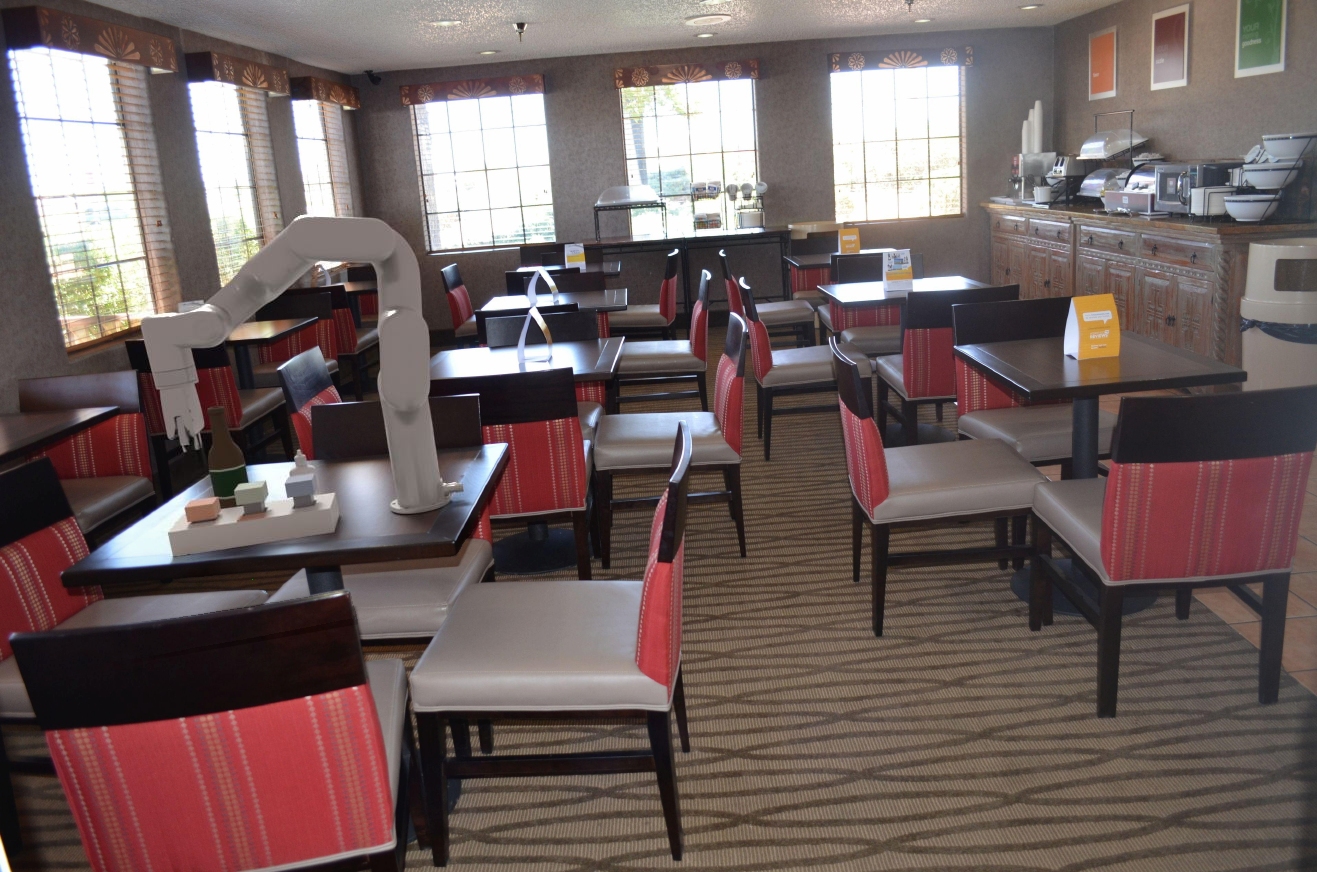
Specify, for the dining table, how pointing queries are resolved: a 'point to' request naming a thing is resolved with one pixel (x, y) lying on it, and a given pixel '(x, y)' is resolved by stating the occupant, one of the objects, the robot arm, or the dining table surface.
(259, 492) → the sage button
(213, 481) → the beer bottle
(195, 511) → the terracotta button
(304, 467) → the eye dropper bottle
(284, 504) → the console
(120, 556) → the dining table surface
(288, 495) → the slate button
